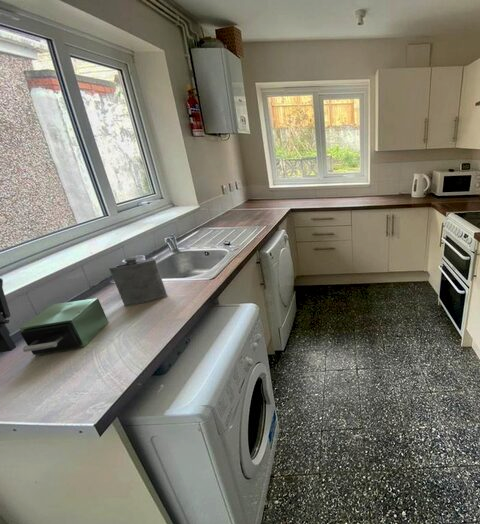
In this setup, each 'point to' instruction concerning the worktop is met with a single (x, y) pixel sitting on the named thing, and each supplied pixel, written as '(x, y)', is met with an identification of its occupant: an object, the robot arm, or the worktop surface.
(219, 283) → the worktop surface
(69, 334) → the fryer drawer
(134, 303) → the flask
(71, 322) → the fryer
